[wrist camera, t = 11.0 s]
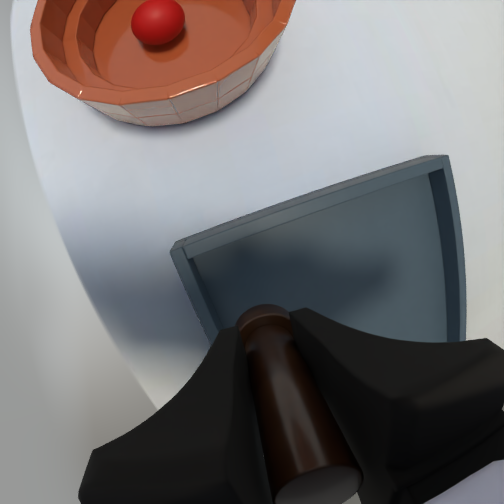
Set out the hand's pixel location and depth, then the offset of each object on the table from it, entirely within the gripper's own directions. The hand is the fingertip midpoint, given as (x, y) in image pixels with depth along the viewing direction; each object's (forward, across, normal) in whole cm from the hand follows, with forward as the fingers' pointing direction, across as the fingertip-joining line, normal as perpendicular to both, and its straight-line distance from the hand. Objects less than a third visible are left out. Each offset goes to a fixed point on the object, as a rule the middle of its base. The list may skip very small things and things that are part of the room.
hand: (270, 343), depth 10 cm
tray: (+5, -5, +8) cm, 11 cm away
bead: (+3, +1, -14) cm, 14 cm away
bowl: (+5, +1, -14) cm, 15 cm away
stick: (+2, 0, +1) cm, 2 cm away
